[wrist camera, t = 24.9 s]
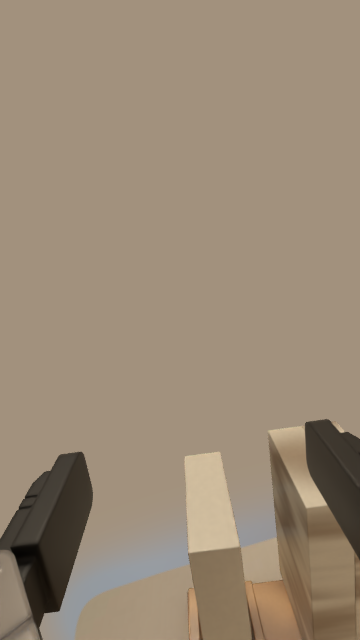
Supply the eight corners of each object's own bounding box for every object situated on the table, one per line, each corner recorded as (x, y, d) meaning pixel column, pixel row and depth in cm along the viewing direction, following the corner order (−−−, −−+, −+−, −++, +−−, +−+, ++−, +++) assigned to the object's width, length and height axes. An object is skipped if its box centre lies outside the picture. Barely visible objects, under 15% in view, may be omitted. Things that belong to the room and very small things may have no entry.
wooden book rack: (435, 740, 22) (450, 535, 18) (195, 768, 22) (154, 573, 18) (345, 568, 34) (341, 420, 30) (188, 588, 34) (162, 444, 30)
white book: (263, 731, 23) (240, 546, 19) (219, 736, 23) (188, 553, 19) (239, 596, 32) (220, 451, 28) (207, 600, 32) (184, 455, 28)
